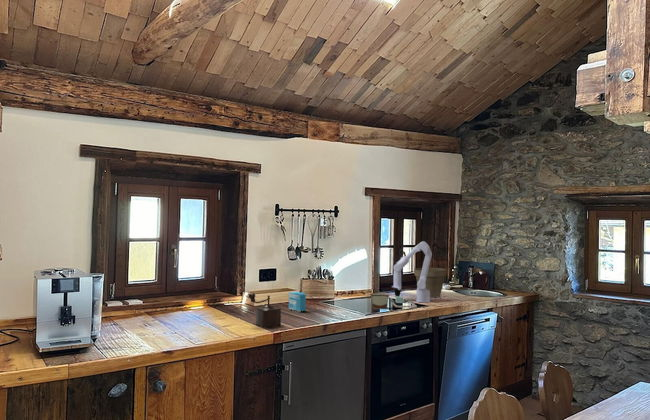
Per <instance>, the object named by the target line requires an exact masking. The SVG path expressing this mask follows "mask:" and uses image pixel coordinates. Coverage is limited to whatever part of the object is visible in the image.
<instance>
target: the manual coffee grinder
mask: <svg viewBox="0 0 650 420" xmlns="http://www.w3.org/2000/svg"><path fill="white" fill-rule="evenodd" d="M248 298H249V299H250V302H251V303H254V304H260V303H264V302H267V303H264V305H263V306H261V307H256V310H255V311H256V312H255V313H256V315H255V318H256V320H255V325H256V324H257V325H256V326H258V325H259V326H258V327H260V326H262V327H261V328H264V327H268V328H273V327H272V326H275V327H279V325H281V323H282V321H281V317H282V316H281V315H282V314H281V313H282V310H281V308H278V307H275V306H274V305H272V304H270V299H271V298H270V295H269V294H268V295H267V298H266V299H263V300H260V301H259V300H258V301H256V293H254V292H252V293H249V294H248ZM281 326H282V325H281Z"/></svg>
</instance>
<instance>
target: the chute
mask: <svg viewBox="0 0 650 420" xmlns="http://www.w3.org/2000/svg"><path fill="white" fill-rule="evenodd" d="M404 301H405V302H404ZM390 302H391V304H392V306H394V307H395V308H418V307H417V305H416V304H414V303H413V302H410V305H397V303H396V300H393V299H392V298H390ZM403 302H404V303H406V302H408V303H409V300H408V299H406V298H403ZM411 304H412V305H411Z"/></svg>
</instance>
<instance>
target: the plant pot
mask: <svg viewBox="0 0 650 420" xmlns="http://www.w3.org/2000/svg"><path fill="white" fill-rule="evenodd" d="M421 271H422V267H417V268H414V269H413V274H414V276H415V278H416V283H417V282H418V281H419V279H420V275H421ZM446 276H447V269H445V268H443V267H442V268H441V267H429V269H428V273H427V277H426V290H429V291H430V299H431V298H432V299H433V298H435V299H436V298H440V297H441V294H442V291H443V287H444V282H445V277H446Z"/></svg>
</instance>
